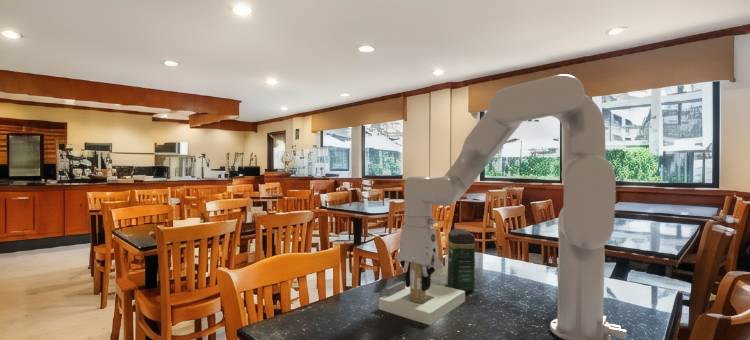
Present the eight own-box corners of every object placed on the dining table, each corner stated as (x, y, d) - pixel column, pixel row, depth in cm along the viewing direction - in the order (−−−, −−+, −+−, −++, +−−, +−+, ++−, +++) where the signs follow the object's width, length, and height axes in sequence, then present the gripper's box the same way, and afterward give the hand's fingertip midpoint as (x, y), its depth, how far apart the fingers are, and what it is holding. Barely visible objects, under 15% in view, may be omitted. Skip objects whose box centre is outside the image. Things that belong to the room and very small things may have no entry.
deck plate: (464, 301, 110) (465, 284, 110) (430, 325, 94) (430, 305, 94) (417, 289, 120) (417, 273, 119) (379, 309, 104) (379, 291, 104)
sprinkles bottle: (425, 302, 102) (425, 252, 101) (408, 301, 103) (408, 252, 102) (426, 296, 106) (426, 248, 106) (410, 295, 107) (410, 248, 107)
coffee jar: (477, 293, 117) (478, 233, 116) (452, 293, 116) (452, 233, 116) (468, 282, 126) (469, 227, 126) (445, 282, 126) (445, 227, 125)
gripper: (452, 223, 101) (451, 290, 102) (400, 216, 112) (400, 278, 112) (438, 227, 95) (438, 298, 96) (385, 220, 106) (385, 284, 106)
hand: (417, 287), depth 104 cm, fingers closed on sprinkles bottle, 4 cm apart
